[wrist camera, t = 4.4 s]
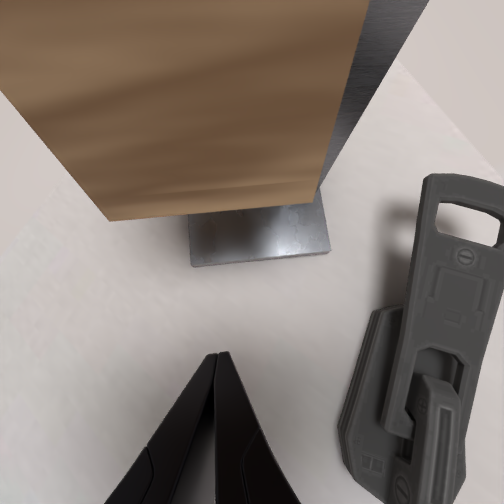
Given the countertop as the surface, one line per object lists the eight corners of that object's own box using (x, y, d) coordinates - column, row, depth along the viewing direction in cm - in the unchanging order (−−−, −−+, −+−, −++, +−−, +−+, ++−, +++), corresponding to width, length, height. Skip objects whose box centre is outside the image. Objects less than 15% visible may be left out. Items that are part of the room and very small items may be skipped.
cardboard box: (312, 202, 12) (604, -829, 2) (109, 221, 12) (-868, -955, 2) (279, 97, 17) (312, -338, 7) (137, 108, 17) (-47, -338, 7)
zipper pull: (542, 192, 19) (533, 605, 13) (466, 222, 25) (438, 507, 19) (425, 161, 19) (367, 547, 13) (380, 198, 25) (328, 470, 20)
